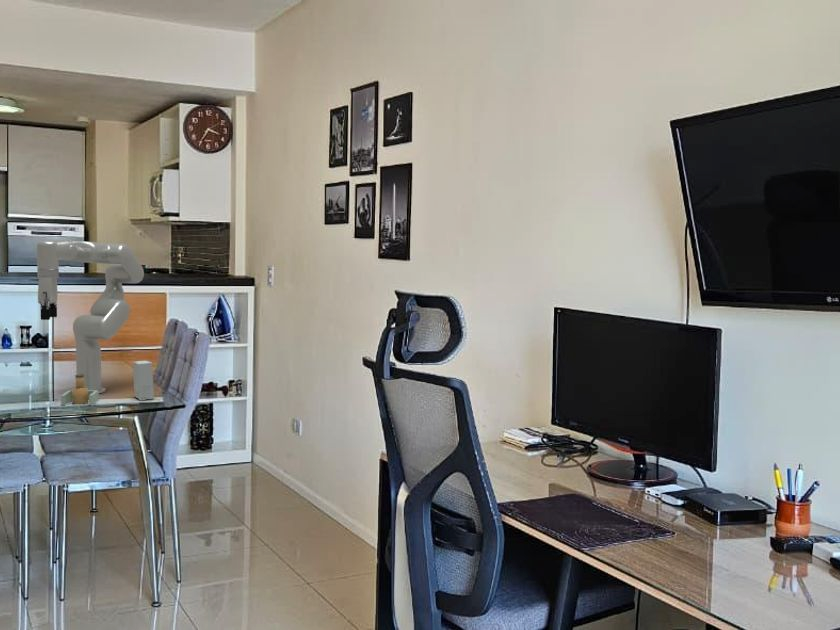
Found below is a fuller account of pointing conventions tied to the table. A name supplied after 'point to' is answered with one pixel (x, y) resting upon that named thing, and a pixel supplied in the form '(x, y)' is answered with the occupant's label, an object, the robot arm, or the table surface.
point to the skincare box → (143, 380)
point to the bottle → (80, 391)
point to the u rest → (67, 397)
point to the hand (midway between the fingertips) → (49, 318)
